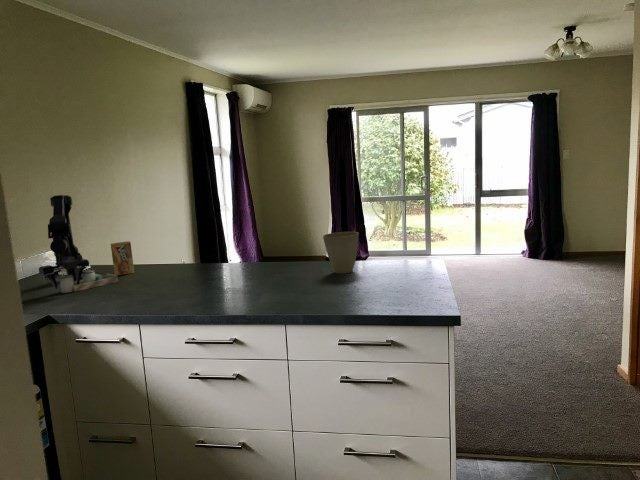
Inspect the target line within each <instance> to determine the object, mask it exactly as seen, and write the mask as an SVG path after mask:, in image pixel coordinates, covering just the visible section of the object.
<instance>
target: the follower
mask: <svg viewBox="0 0 640 480" xmlns="http://www.w3.org/2000/svg"><path fill="white" fill-rule="evenodd" d="M102 276H103V275H102V274H97V273H95V277H96V281H98V280H102Z"/></svg>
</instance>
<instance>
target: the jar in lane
mask: <svg viewBox="0 0 640 480" xmlns="http://www.w3.org/2000/svg"><path fill="white" fill-rule="evenodd" d="M95 274H96V273H95V270H94V269H93V270H91V269H88V270H83V272H82V275H81V276H82V278H81V279H82V280H83V284H84V283H89V282H93V281H96V277H95Z"/></svg>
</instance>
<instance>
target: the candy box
mask: <svg viewBox="0 0 640 480" xmlns="http://www.w3.org/2000/svg"><path fill="white" fill-rule="evenodd" d="M110 250H111V258H112V265H113V272H114V275H117V276H120V275H121V276H122V275H127V274H128V275H129V274H135V266H134V258H133V251H132V243H131V241H130V240H127V241H118V242H111V243H110Z"/></svg>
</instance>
